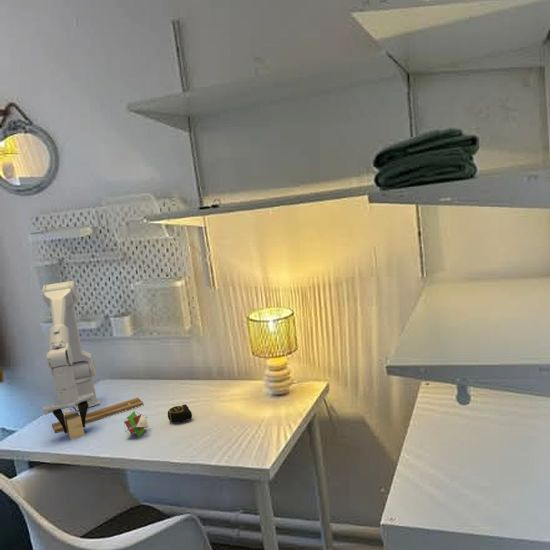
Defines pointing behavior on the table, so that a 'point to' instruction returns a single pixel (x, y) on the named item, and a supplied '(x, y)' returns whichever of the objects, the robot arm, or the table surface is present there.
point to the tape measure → (179, 414)
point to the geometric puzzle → (136, 424)
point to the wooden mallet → (73, 424)
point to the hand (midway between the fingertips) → (74, 429)
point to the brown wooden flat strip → (104, 412)
